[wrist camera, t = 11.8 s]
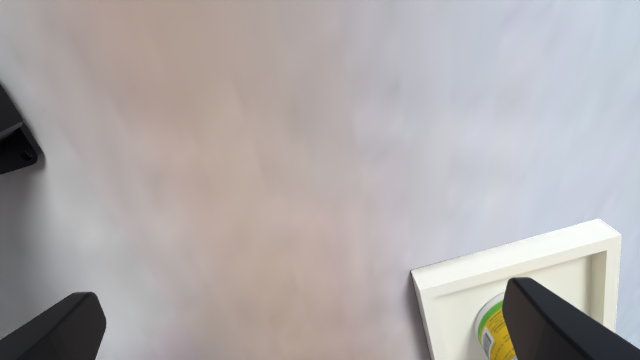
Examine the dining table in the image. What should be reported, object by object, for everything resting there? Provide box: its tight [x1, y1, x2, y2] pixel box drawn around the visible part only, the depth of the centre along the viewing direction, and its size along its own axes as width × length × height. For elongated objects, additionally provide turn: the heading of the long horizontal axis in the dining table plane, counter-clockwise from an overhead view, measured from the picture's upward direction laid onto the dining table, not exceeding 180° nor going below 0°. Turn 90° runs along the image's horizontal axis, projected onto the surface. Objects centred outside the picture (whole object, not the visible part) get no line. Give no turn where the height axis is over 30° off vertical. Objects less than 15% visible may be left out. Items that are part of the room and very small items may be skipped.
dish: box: [411, 218, 622, 360], centre depth 26 cm, size 12×12×2 cm
